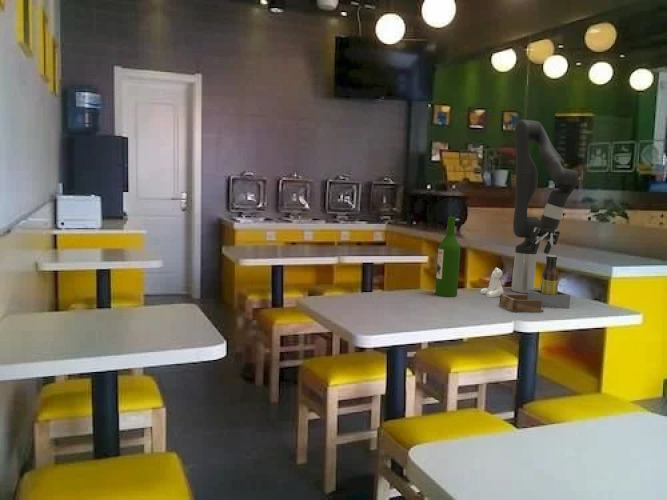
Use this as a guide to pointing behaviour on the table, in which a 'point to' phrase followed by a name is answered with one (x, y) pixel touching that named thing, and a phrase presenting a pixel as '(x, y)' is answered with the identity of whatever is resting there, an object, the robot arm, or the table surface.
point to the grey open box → (550, 299)
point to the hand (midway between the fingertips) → (538, 252)
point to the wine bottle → (448, 263)
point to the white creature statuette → (494, 285)
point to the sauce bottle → (550, 277)
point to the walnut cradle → (519, 303)
